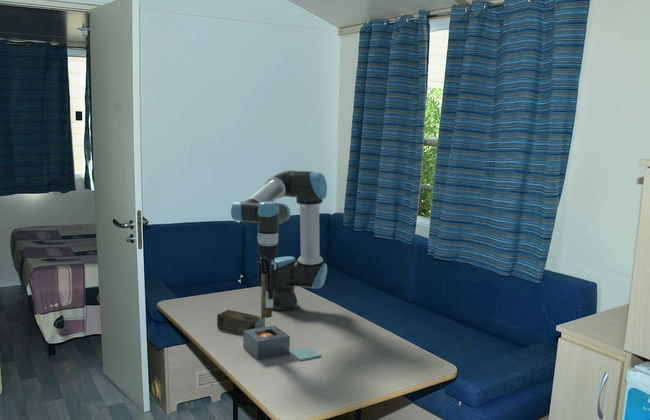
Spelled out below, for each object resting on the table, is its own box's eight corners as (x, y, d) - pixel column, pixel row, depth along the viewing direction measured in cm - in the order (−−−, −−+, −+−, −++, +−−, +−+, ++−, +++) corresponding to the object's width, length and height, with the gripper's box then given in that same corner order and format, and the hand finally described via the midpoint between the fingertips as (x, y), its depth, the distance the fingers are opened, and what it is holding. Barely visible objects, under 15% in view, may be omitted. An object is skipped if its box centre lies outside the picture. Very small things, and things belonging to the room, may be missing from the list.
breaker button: (269, 344, 229) (269, 332, 228) (275, 349, 225) (275, 336, 224) (257, 346, 226) (257, 334, 226) (262, 351, 222) (263, 338, 221)
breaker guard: (274, 342, 234) (274, 325, 233) (289, 354, 223) (289, 336, 222) (243, 348, 228) (243, 330, 227) (257, 360, 217) (257, 341, 216)
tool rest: (309, 348, 230) (309, 347, 229) (321, 356, 222) (321, 355, 222) (288, 352, 225) (288, 350, 225) (300, 361, 217) (300, 359, 217)
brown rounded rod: (269, 313, 226) (269, 272, 224) (273, 316, 223) (274, 275, 221) (259, 315, 224) (260, 273, 222) (263, 318, 221) (264, 276, 218)
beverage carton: (255, 337, 241) (255, 321, 240) (215, 328, 249) (215, 313, 248) (265, 331, 248) (265, 315, 247) (227, 323, 256) (227, 308, 255)
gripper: (249, 240, 225) (248, 300, 228) (268, 249, 210) (267, 313, 214) (267, 239, 229) (266, 298, 232) (287, 247, 214) (286, 310, 218)
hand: (266, 305), depth 223 cm, fingers closed on brown rounded rod, 4 cm apart
